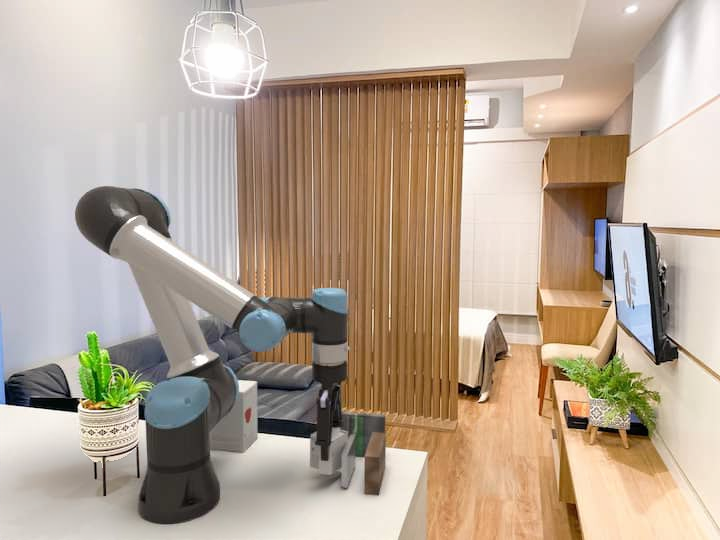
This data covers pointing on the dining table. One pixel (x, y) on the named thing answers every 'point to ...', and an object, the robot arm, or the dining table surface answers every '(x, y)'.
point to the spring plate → (349, 457)
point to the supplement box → (238, 422)
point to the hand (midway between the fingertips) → (329, 464)
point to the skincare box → (338, 445)
